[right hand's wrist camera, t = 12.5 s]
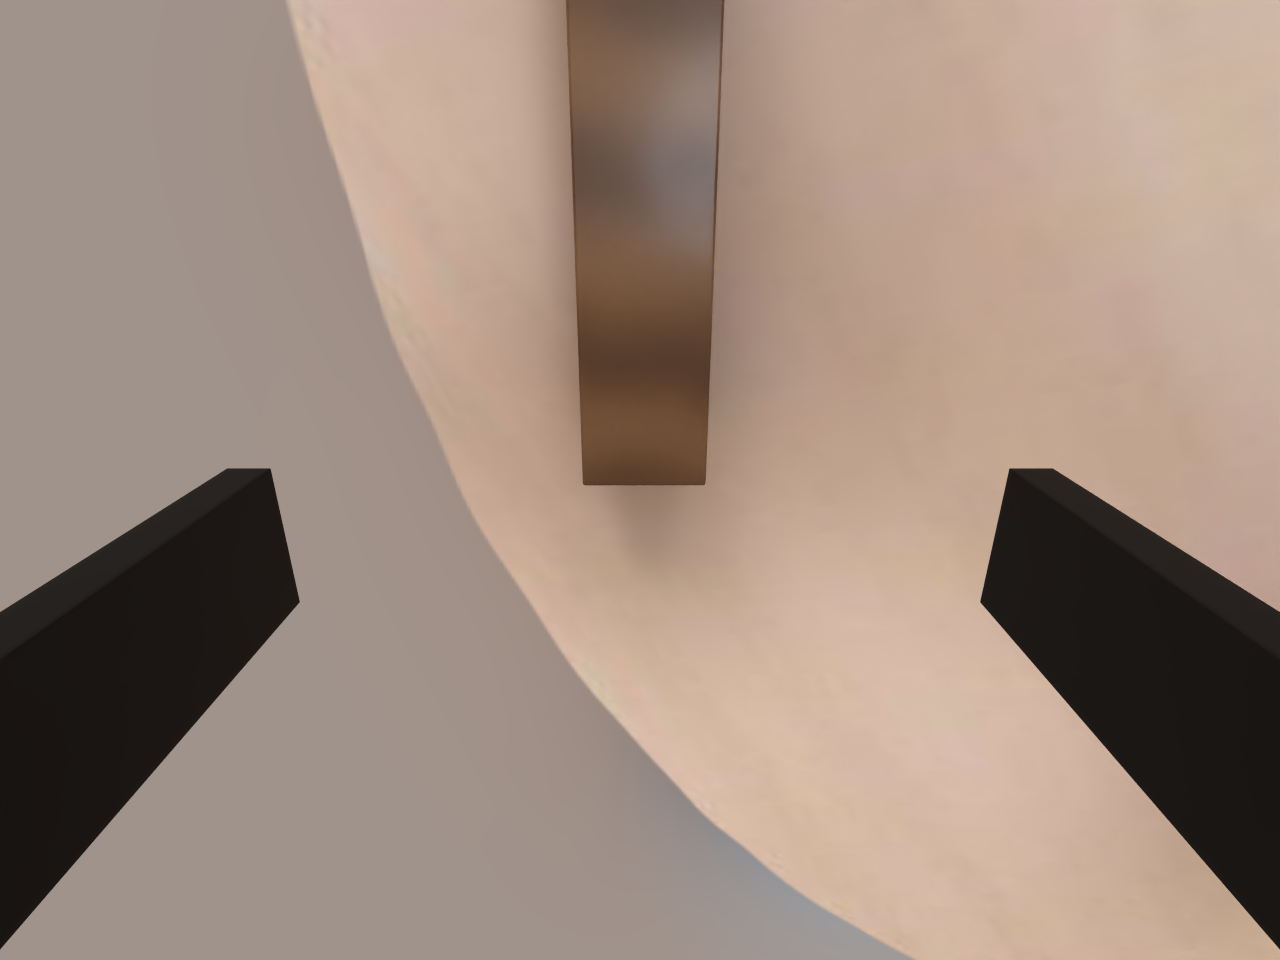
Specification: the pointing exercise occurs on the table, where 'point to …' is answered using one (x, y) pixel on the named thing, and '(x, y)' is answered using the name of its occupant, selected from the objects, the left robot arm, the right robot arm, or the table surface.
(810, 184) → the table surface
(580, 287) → the post
